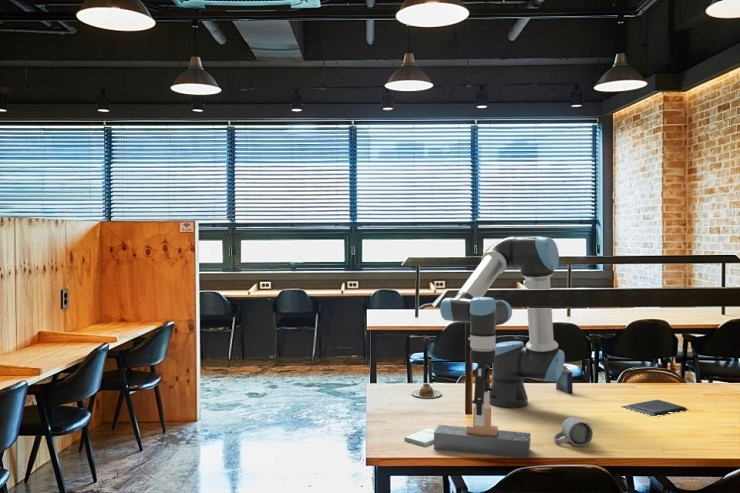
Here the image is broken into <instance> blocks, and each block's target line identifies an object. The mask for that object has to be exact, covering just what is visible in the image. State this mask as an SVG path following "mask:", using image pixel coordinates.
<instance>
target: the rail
mask: <svg viewBox="0 0 740 493" xmlns="http://www.w3.org/2000/svg"><path fill="white" fill-rule="evenodd" d="M434 430H435V432H434V443H433V450H439V451H440V450H443V451H449V452H450V451H451V452H458V453H469V454H480V455H489V456H491V455H492V456H497V457H499V456H500V457H509V458H518V459H526V460H527V459H529V460H530V455H531V432H522V431H521V432H520V431H510V430H499V429H498V433H497V436H489V435H483V434H468V433H467V426H466V427H465V426H456V425H446V424H445V425H444V424H438V426H437V427H436V429H434Z"/></svg>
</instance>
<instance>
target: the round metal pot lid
mask: <svg viewBox="0 0 740 493" xmlns="http://www.w3.org/2000/svg"><path fill="white" fill-rule="evenodd" d="M418 394H419V395H418ZM411 395H412V396H414V397H417V398H421V399H435V398H436V399H437V398H439V397H441V395H442V392H441V391H439V390H437V389H433V386H431V385H430V383H423V384H422V386H421V388H420V389H416V390H413V391H412V392H411ZM434 395H435V396H434Z"/></svg>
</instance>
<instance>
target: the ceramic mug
mask: <svg viewBox="0 0 740 493" xmlns="http://www.w3.org/2000/svg"><path fill="white" fill-rule="evenodd" d="M593 435H594V433H593V428H592V427H591V425H590V424H589V423H587V422H586V421H583V420H582V419H580V418H577V417H572V416H570V417H568V418H566V419H564V421H563V422H562V424H561V431H560V432H557V434H555V435H554V437H553V440H554V442H555V443H556V444H557V445H564V444H566V443H569V442H570V444H572V445H573V446H574V447H577V446H584V447H586V446H588V445H589V444H590V443H591V441H592V440H593Z"/></svg>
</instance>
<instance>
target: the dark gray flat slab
mask: <svg viewBox="0 0 740 493" xmlns="http://www.w3.org/2000/svg"><path fill="white" fill-rule="evenodd" d="M622 407H623V409H625V408H626V410H628V409H630V410H629V411H632V410H634V411H633V412H635V411H636V412H635V413H638V412H640V413H639V414H641V413H643V414H642V415H644V414H647V415H650V416H649V417H651V416H657V415H663V416H666V415H665V414H668V415H671V414H670V413H668V412H673V414H675V413H674V412H678V413H681V412H680V411H683V412H687V411H686V410H688V411H689V409H688V408H687V407H685V406H681V405H679V404H675V403H671V402H668V401H665V400H661V399H654V400H652V399H651V400H647V401H641V402H637V403H631V404H626V405H622V406H620V408H622ZM647 415H646V416H647Z"/></svg>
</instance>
